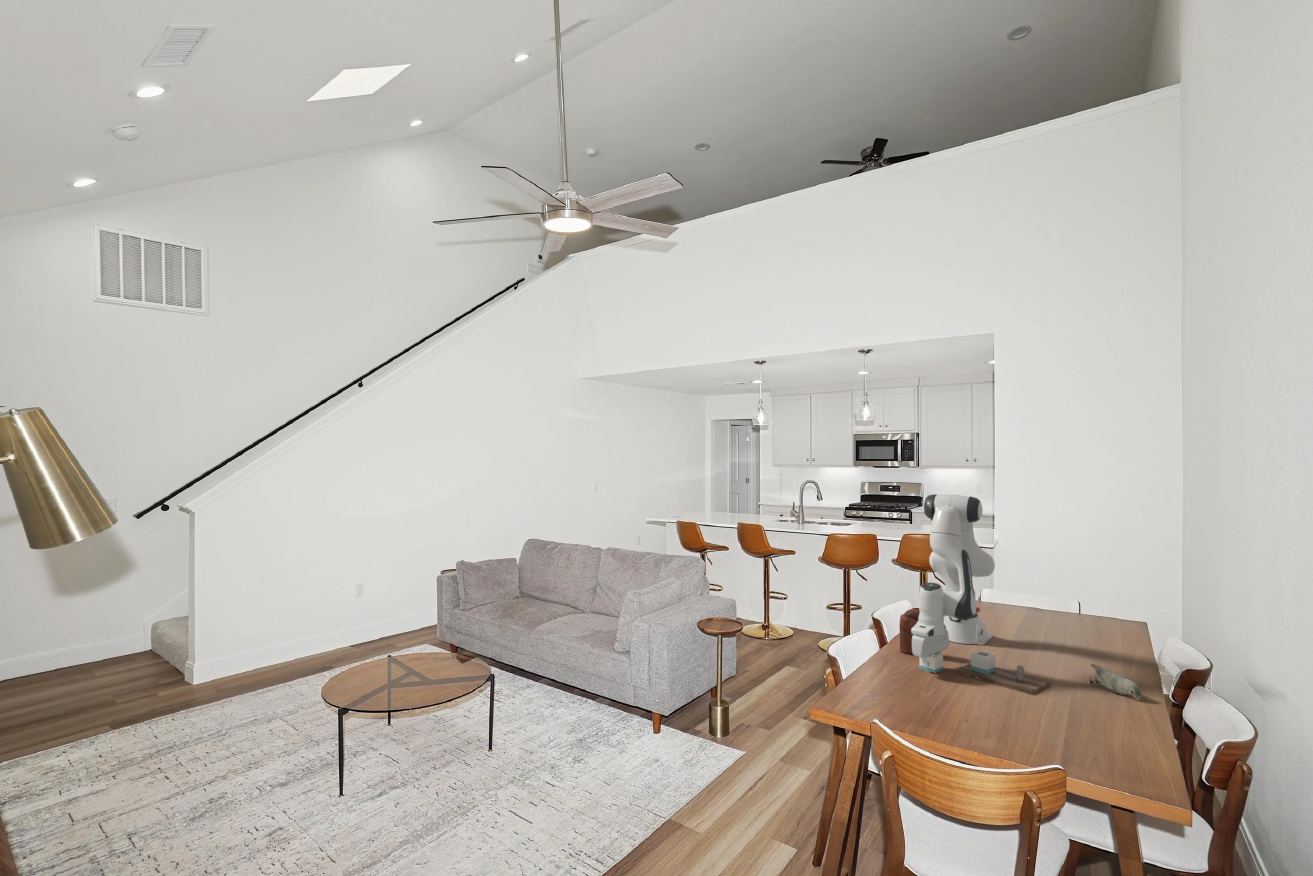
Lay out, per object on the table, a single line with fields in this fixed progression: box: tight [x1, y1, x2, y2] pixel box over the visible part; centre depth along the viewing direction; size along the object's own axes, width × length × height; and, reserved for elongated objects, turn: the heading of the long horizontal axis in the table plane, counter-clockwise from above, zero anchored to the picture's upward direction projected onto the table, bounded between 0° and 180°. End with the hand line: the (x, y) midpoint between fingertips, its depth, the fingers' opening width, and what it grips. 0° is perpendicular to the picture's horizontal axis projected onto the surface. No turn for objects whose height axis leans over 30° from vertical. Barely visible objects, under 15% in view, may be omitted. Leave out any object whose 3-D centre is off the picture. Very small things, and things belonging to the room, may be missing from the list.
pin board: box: [955, 655, 1050, 695], centre depth 225 cm, size 14×26×7 cm, turn 37°
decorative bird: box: [1089, 663, 1142, 700], centre depth 213 cm, size 5×16×8 cm, turn 19°
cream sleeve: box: [918, 652, 944, 674], centre depth 234 cm, size 6×6×6 cm
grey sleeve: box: [970, 649, 996, 674], centre depth 231 cm, size 6×6×6 cm
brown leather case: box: [899, 608, 920, 656], centre depth 253 cm, size 12×6×18 cm, turn 49°
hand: (931, 664), depth 234 cm, fingers closed on cream sleeve, 6 cm apart
